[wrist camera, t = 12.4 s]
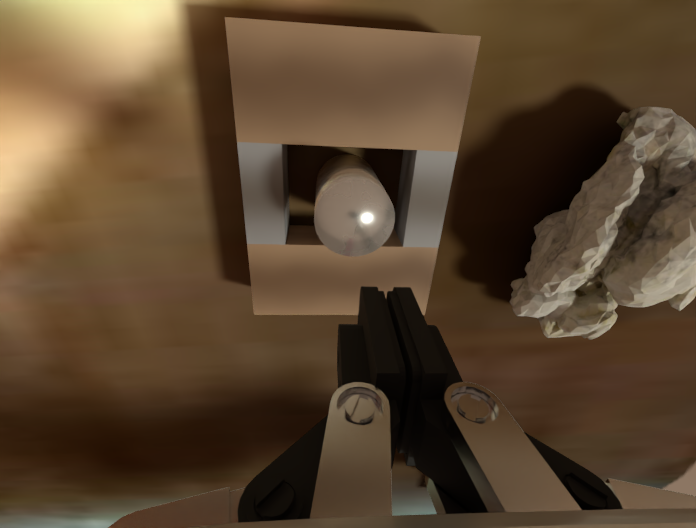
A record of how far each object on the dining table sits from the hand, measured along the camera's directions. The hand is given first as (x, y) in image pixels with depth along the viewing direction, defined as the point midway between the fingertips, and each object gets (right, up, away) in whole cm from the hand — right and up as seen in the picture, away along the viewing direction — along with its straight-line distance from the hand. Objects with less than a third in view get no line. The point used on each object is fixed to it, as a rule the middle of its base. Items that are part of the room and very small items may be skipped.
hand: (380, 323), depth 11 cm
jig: (-1, +8, +13) cm, 15 cm away
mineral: (+17, +5, +16) cm, 24 cm away
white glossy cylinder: (-1, +8, +13) cm, 15 cm away
